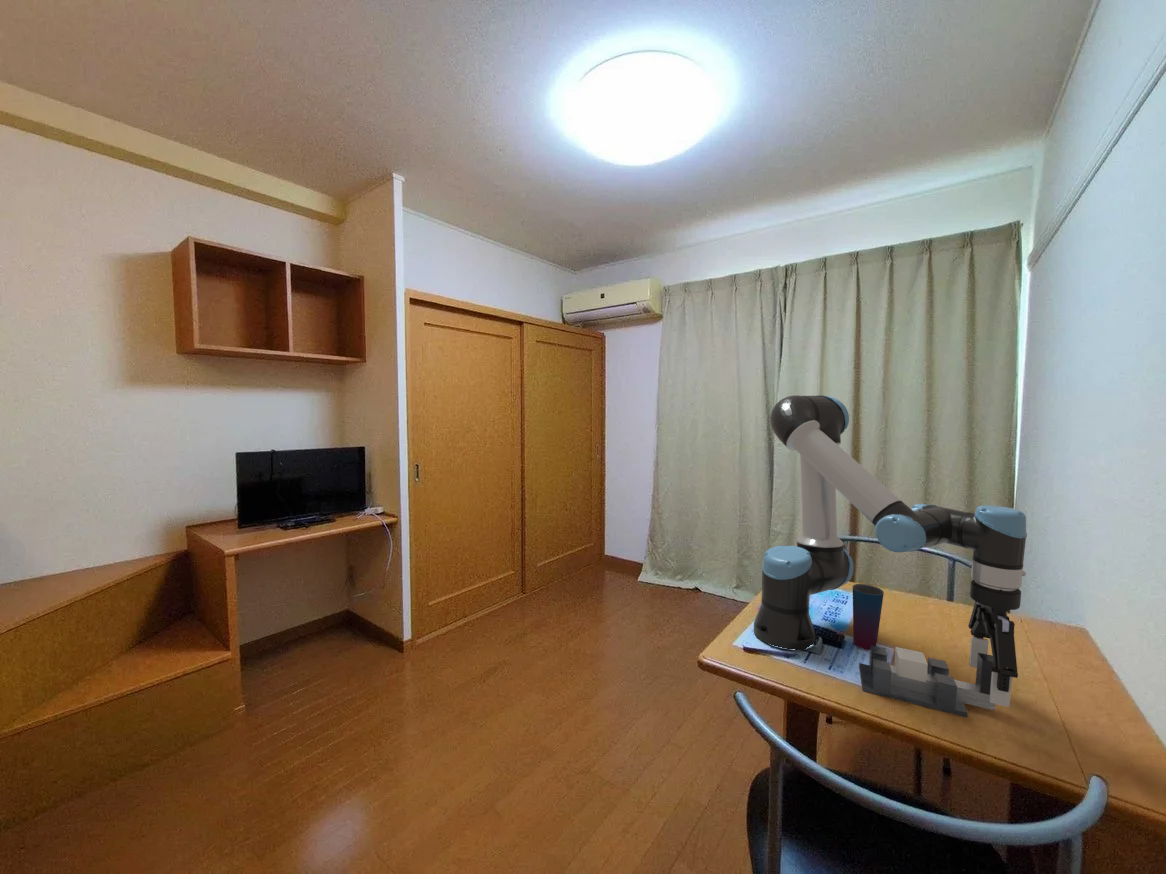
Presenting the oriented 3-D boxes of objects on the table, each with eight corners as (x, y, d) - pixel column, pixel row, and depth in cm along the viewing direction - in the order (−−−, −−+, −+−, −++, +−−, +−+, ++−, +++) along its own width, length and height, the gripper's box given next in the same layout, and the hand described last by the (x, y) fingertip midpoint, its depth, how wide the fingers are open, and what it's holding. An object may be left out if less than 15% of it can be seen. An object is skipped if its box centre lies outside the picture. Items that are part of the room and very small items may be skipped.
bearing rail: (862, 690, 99) (863, 664, 99) (859, 666, 108) (860, 642, 107) (967, 717, 91) (969, 689, 90) (954, 689, 100) (956, 663, 99)
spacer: (897, 675, 98) (898, 657, 98) (894, 663, 102) (895, 646, 102) (926, 682, 96) (927, 664, 95) (921, 670, 100) (922, 652, 100)
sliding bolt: (877, 681, 101) (879, 638, 100) (875, 674, 103) (878, 632, 102) (997, 711, 91) (1001, 663, 90) (992, 702, 94) (996, 656, 93)
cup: (885, 653, 114) (888, 595, 112) (855, 650, 115) (858, 593, 114) (873, 639, 120) (876, 585, 119) (845, 636, 122) (848, 582, 120)
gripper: (1048, 613, 78) (1038, 729, 80) (998, 567, 100) (991, 658, 102) (991, 604, 82) (983, 715, 83) (955, 561, 104) (949, 650, 105)
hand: (987, 684), depth 93 cm, fingers open, 13 cm apart
